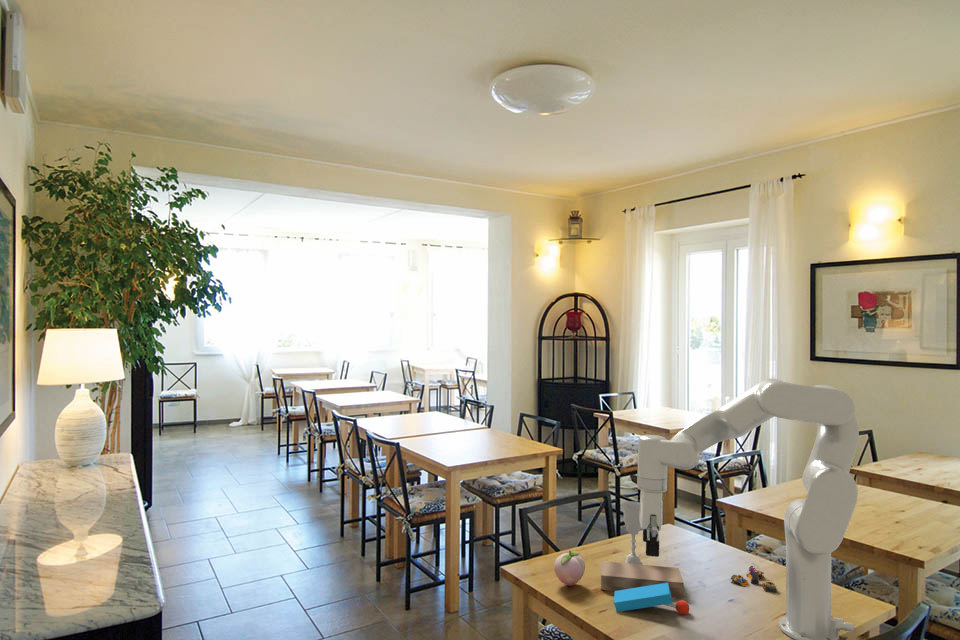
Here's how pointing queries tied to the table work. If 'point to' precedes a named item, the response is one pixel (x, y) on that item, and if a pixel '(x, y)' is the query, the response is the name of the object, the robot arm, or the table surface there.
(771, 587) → the toy set
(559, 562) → the decorative fruit
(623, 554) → the table surface
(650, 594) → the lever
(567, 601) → the table surface
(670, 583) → the walnut riser block
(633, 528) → the chalice
